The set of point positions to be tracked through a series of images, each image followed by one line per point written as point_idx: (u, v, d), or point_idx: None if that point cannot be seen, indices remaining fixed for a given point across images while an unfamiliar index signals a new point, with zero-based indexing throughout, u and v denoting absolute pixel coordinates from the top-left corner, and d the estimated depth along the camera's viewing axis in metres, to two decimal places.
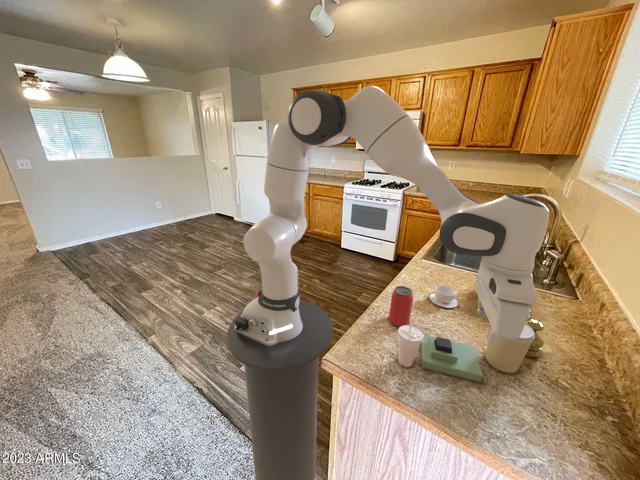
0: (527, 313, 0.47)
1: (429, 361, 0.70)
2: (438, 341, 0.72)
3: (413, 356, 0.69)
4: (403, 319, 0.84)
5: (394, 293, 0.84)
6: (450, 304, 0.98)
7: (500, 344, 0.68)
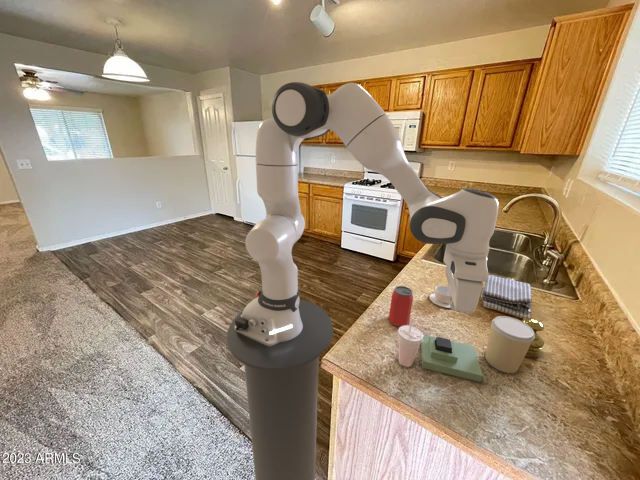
0: (480, 289, 0.55)
1: (429, 361, 0.70)
2: (438, 341, 0.72)
3: (413, 356, 0.69)
4: (403, 319, 0.84)
5: (394, 293, 0.84)
6: None
7: (500, 344, 0.68)
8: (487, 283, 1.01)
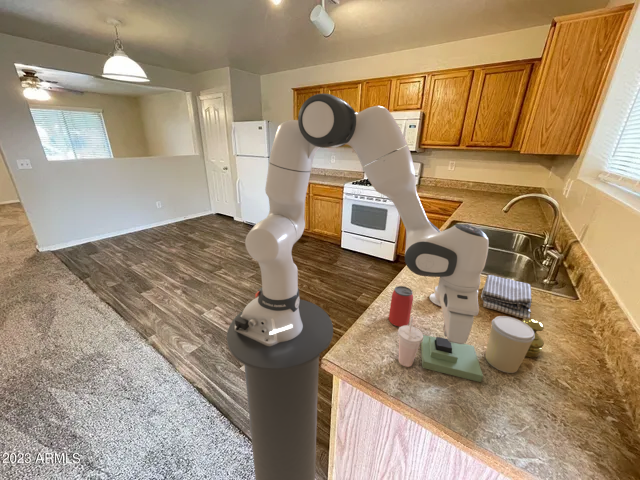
0: (471, 323, 0.58)
1: (429, 361, 0.70)
2: (438, 341, 0.72)
3: (413, 356, 0.69)
4: (403, 319, 0.84)
5: (394, 293, 0.84)
6: None
7: (500, 344, 0.68)
8: (487, 283, 1.01)
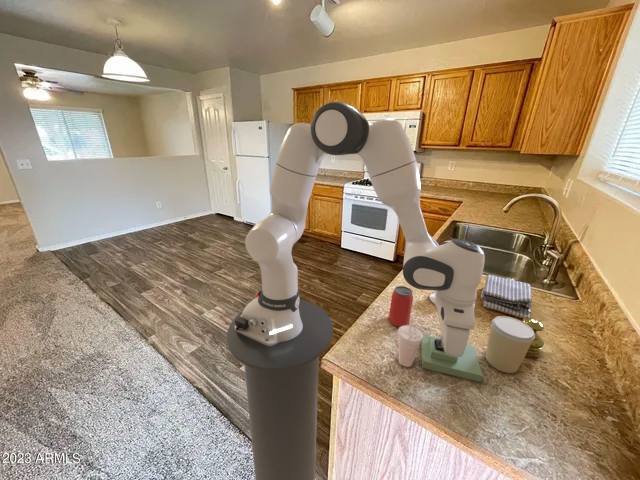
0: (467, 336, 0.60)
1: (429, 361, 0.70)
2: (437, 343, 0.73)
3: (413, 356, 0.69)
4: (403, 319, 0.84)
5: (394, 293, 0.84)
6: None
7: (500, 344, 0.68)
8: (487, 283, 1.01)
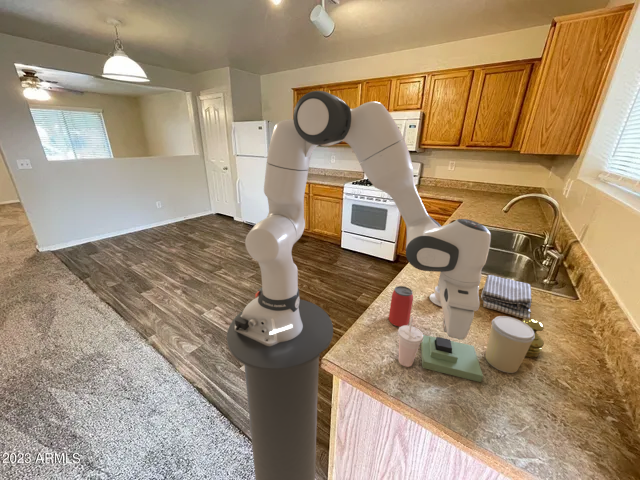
0: (471, 318, 0.58)
1: (429, 361, 0.70)
2: (438, 341, 0.72)
3: (413, 356, 0.69)
4: (403, 319, 0.84)
5: (394, 293, 0.84)
6: None
7: (500, 344, 0.68)
8: (487, 283, 1.01)
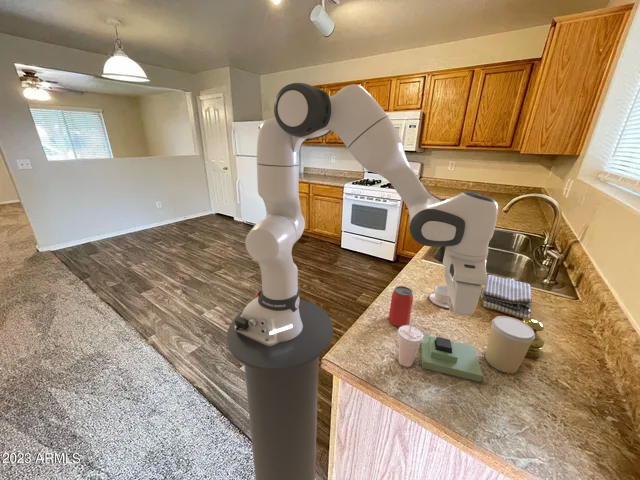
0: (479, 292, 0.56)
1: (429, 361, 0.70)
2: (438, 341, 0.72)
3: (413, 356, 0.69)
4: (403, 319, 0.84)
5: (394, 293, 0.84)
6: None
7: (500, 344, 0.68)
8: (487, 283, 1.01)
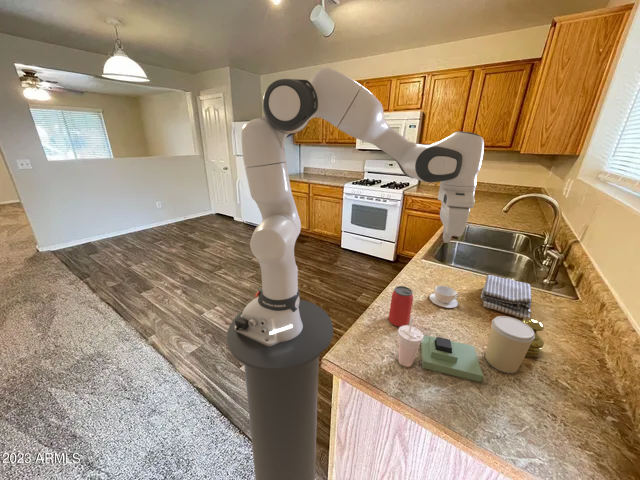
0: (467, 214, 0.66)
1: (429, 361, 0.70)
2: (438, 341, 0.72)
3: (413, 356, 0.69)
4: (403, 319, 0.84)
5: (394, 293, 0.84)
6: (450, 304, 0.98)
7: (500, 344, 0.68)
8: (487, 283, 1.01)
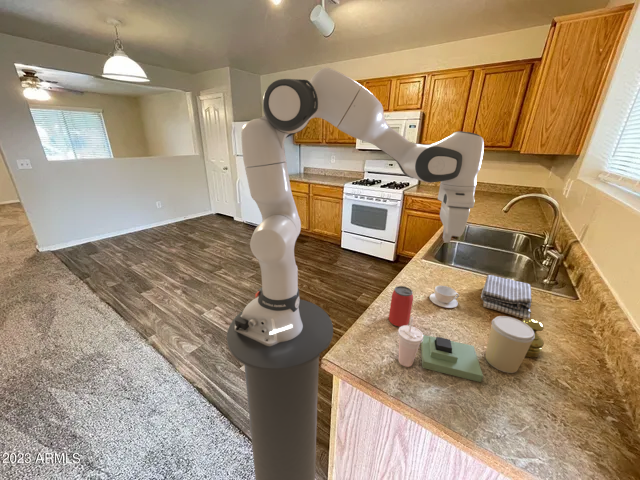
0: (467, 214, 0.66)
1: (429, 361, 0.70)
2: (438, 341, 0.72)
3: (413, 356, 0.69)
4: (403, 319, 0.84)
5: (394, 293, 0.84)
6: (450, 304, 0.98)
7: (500, 344, 0.68)
8: (487, 283, 1.01)
